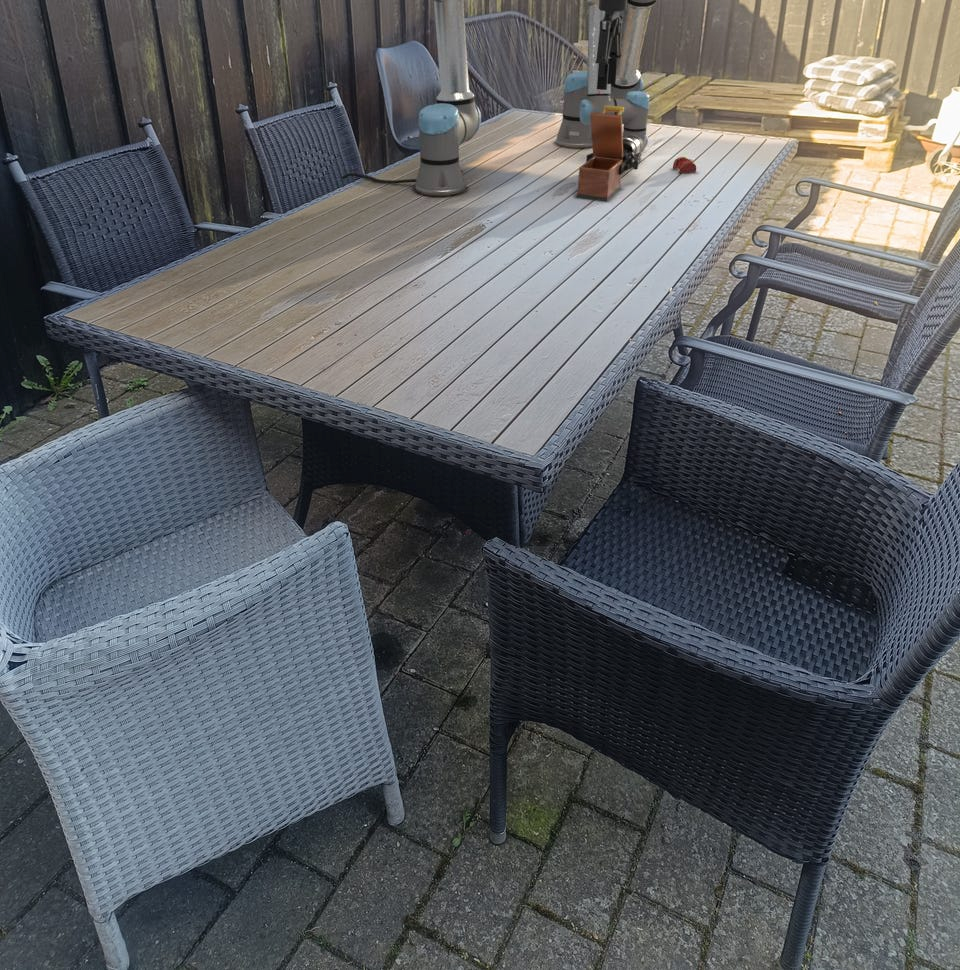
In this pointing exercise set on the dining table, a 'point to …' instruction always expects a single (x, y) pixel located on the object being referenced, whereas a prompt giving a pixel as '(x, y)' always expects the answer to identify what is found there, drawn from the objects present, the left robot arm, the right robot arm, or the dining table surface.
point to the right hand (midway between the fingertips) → (604, 168)
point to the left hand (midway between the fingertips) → (606, 86)
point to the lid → (607, 132)
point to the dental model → (684, 165)
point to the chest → (599, 178)
